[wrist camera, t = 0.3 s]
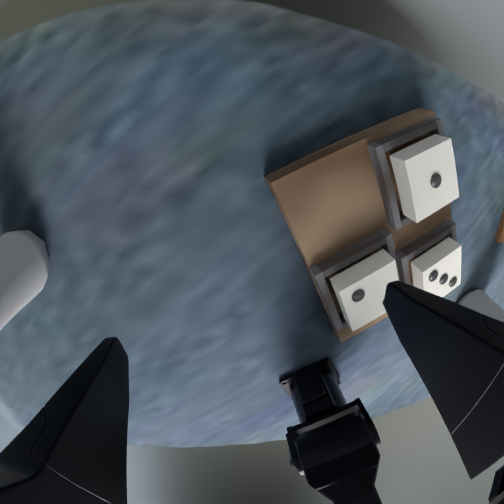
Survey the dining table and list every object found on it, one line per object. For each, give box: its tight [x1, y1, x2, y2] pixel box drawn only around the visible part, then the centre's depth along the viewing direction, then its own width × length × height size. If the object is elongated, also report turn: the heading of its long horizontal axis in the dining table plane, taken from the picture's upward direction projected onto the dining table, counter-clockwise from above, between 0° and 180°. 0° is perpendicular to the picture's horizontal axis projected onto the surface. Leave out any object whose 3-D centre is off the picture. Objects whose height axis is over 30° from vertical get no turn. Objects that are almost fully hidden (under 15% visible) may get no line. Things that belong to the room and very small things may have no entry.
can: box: [458, 289, 504, 322], centre depth 28 cm, size 8×8×12 cm
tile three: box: [411, 237, 461, 297], centre depth 23 cm, size 5×5×2 cm
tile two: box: [330, 249, 399, 331], centre depth 22 cm, size 5×5×2 cm
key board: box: [264, 108, 457, 343], centre depth 23 cm, size 18×15×3 cm
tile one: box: [389, 134, 459, 223], centre depth 18 cm, size 5×5×2 cm
